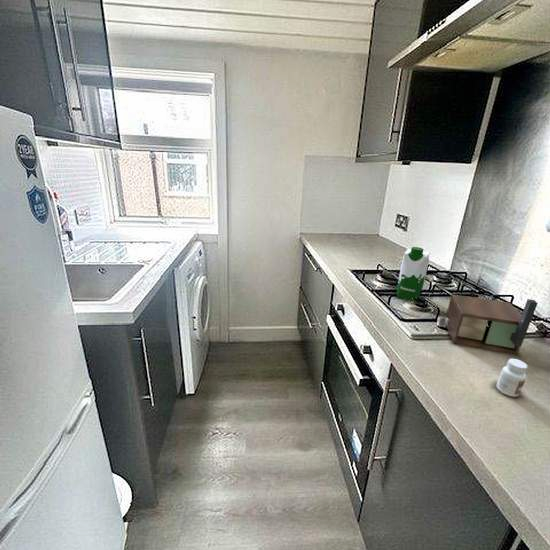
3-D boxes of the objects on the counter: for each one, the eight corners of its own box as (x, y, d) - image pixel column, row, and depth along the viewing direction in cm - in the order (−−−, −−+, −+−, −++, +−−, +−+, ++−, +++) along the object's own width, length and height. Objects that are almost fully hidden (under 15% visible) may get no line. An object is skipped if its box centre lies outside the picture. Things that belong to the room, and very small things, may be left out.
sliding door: (513, 347, 85) (532, 297, 79) (518, 355, 82) (539, 303, 76) (484, 342, 87) (501, 293, 81) (489, 349, 83) (506, 298, 78)
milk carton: (393, 297, 117) (403, 247, 110) (398, 289, 124) (408, 242, 117) (418, 303, 113) (429, 252, 105) (421, 295, 120) (432, 246, 112)
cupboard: (500, 330, 96) (509, 302, 92) (517, 354, 84) (529, 323, 80) (444, 321, 100) (451, 294, 97) (453, 343, 88) (461, 313, 85)
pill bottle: (520, 400, 68) (531, 372, 65) (496, 392, 70) (506, 364, 67) (517, 388, 71) (528, 361, 68) (495, 381, 73) (505, 354, 71)
